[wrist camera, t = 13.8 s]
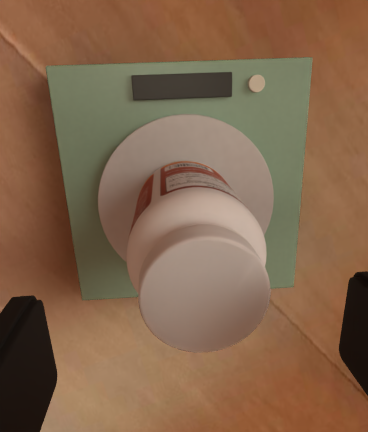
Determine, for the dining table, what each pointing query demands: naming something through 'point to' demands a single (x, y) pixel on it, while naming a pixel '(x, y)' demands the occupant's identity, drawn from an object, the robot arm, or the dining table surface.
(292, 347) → the dining table surface
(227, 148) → the scale
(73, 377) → the dining table surface
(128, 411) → the dining table surface
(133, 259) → the pill bottle
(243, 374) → the dining table surface
